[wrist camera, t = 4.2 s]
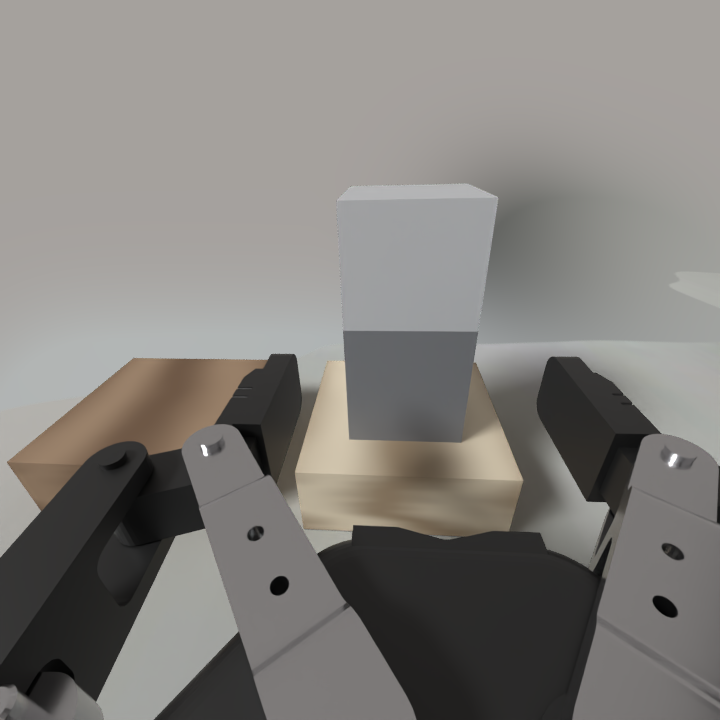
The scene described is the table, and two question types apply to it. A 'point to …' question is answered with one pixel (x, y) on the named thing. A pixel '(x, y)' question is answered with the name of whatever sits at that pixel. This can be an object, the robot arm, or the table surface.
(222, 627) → the table surface
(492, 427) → the birch stand
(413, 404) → the block
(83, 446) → the walnut stand
